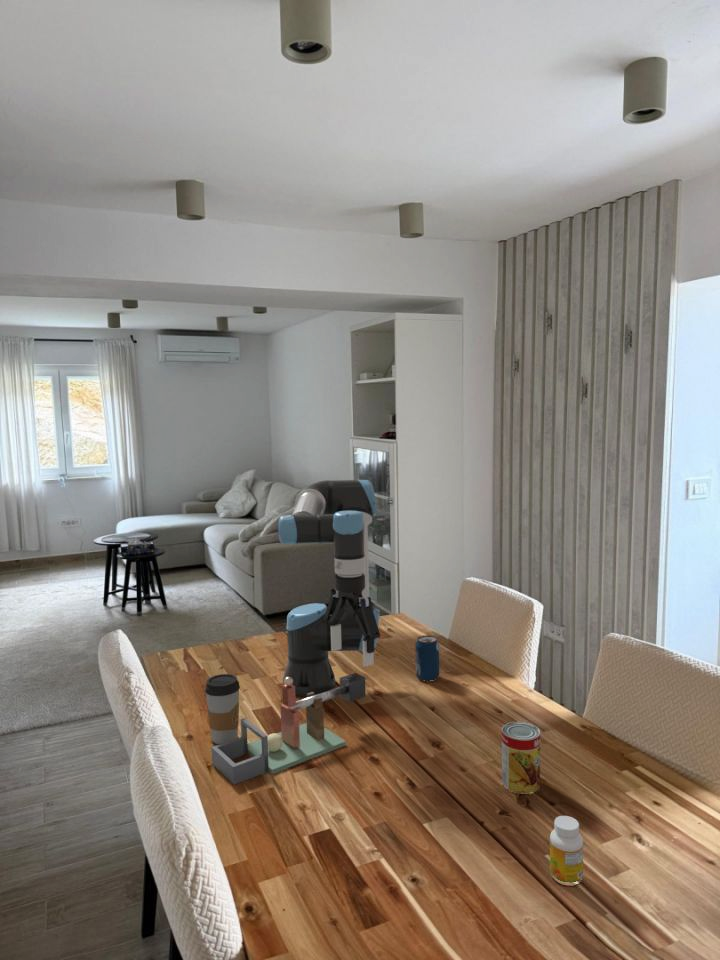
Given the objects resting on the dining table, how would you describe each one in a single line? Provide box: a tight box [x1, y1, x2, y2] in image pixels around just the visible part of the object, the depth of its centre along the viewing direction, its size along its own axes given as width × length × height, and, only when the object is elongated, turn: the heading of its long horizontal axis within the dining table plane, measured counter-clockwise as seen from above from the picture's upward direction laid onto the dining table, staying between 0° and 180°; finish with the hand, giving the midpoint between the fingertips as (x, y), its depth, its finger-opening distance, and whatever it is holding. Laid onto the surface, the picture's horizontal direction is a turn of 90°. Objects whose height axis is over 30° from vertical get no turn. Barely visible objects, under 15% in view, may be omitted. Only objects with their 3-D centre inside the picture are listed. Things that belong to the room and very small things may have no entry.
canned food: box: [501, 721, 541, 794], centre depth 141 cm, size 8×8×12 cm
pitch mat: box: [247, 722, 347, 775], centre depth 159 cm, size 20×14×1 cm
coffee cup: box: [204, 673, 241, 745], centre depth 164 cm, size 8×8×15 cm
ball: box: [267, 733, 282, 752], centre depth 156 cm, size 4×4×4 cm
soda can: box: [414, 635, 440, 681], centre depth 198 cm, size 7×7×12 cm
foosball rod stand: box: [279, 672, 367, 749], centre depth 164 cm, size 22×6×16 cm, turn 127°
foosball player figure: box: [305, 692, 325, 740], centre depth 162 cm, size 2×5×11 cm, turn 37°
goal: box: [211, 717, 269, 786], centre depth 150 cm, size 8×11×8 cm
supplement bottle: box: [549, 815, 584, 883], centre depth 113 cm, size 5×5×10 cm
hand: (351, 657), depth 168 cm, fingers open, 13 cm apart
